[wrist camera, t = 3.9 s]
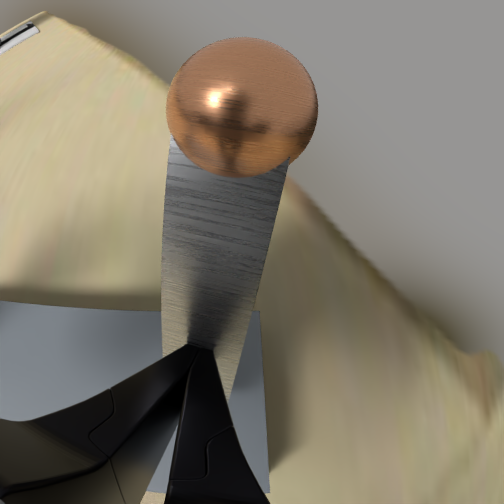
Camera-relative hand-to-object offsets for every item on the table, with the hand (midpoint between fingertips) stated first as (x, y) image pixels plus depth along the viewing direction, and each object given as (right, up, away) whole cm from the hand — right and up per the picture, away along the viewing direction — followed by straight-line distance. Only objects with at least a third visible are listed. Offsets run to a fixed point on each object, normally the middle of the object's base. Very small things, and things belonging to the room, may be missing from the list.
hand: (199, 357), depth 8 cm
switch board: (-9, -5, +4) cm, 11 cm away
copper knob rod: (-1, -4, +3) cm, 5 cm away
